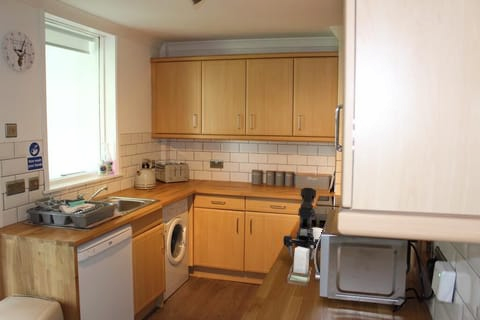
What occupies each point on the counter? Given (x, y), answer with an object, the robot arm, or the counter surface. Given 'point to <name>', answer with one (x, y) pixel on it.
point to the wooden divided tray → (299, 277)
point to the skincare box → (301, 260)
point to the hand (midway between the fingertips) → (301, 259)
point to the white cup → (316, 234)
